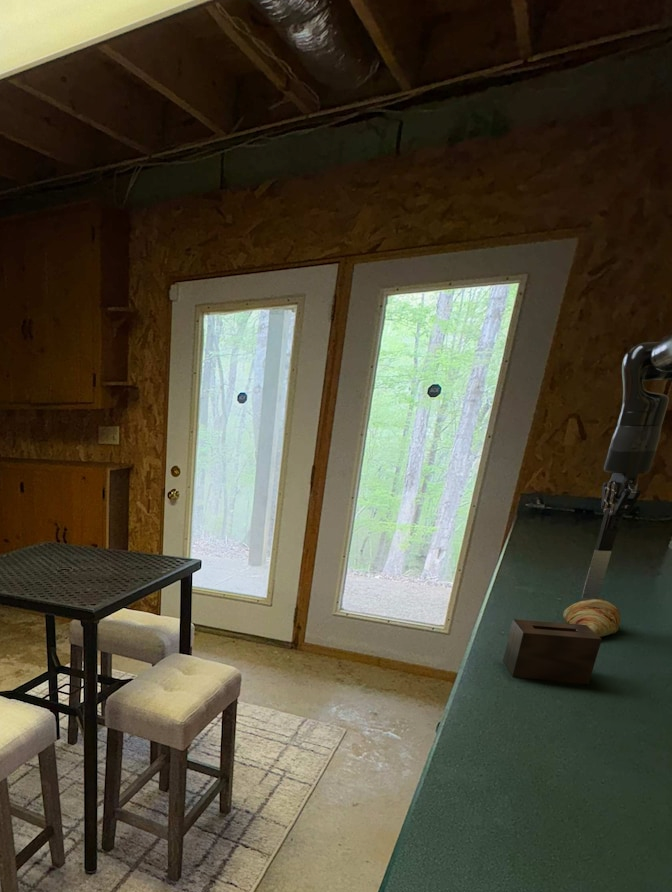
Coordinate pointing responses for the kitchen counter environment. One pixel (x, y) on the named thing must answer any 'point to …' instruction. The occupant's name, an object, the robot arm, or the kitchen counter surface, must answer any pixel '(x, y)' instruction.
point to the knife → (599, 561)
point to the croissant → (594, 616)
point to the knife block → (551, 651)
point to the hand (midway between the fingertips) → (608, 531)
